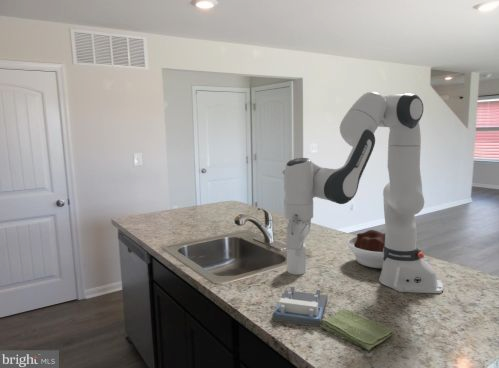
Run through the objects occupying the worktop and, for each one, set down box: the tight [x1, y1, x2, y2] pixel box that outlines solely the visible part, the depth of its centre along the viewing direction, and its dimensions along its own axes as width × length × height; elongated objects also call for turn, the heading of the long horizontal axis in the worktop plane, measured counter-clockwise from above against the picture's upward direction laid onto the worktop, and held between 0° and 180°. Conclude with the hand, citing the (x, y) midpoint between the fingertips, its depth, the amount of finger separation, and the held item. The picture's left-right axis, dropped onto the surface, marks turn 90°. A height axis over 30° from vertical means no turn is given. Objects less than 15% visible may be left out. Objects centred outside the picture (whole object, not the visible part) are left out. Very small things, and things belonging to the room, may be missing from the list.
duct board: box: [272, 284, 328, 328], centre depth 123 cm, size 15×18×4 cm
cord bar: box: [278, 298, 318, 316], centre depth 118 cm, size 12×3×3 cm, turn 72°
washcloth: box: [321, 309, 394, 351], centre depth 109 cm, size 13×18×3 cm
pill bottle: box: [286, 242, 307, 276], centre depth 155 cm, size 8×8×15 cm
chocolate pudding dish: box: [346, 229, 385, 269], centre depth 162 cm, size 25×25×15 cm
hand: (299, 255), depth 115 cm, fingers closed
